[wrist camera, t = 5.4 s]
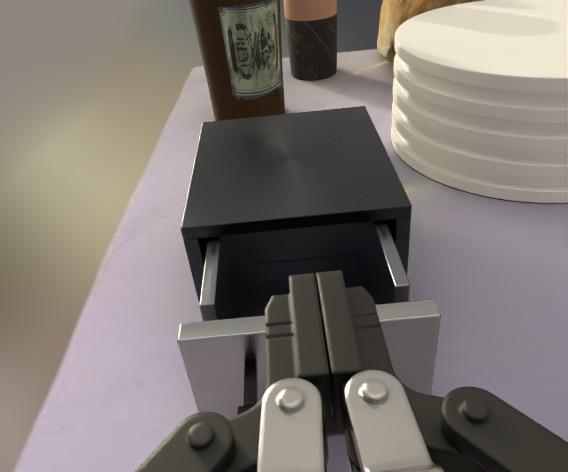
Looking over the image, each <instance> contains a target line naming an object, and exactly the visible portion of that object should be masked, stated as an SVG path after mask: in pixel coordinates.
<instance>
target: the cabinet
mask: <svg viewBox="0 0 568 472" xmlns="http://www.w3.org/2000/svg"><path fill="white" fill-rule="evenodd" d="M411 208H412V205H411V203H410V201H409V199H408V197H407V195H406V192H405V190H404V188H403V186H402V184H401V182H400V180H399V178H398V175H397V173H396V171H395V169H394V167H393V165H392V163H391V161H390V158H389V156H388V154H387V152H386V150H385V148H384V146H383V144H382V141H381V139H380V137H379V135H378V133H377V131H376V129H375V126H374V124H373V122H372V120H371V118H370V116H369V114H368V112H367V109H366V107H365V106H361V107H351V108H341V109H331V110H321V111H311V112H301V113H292V114H282V115H272V116H262V117H252V118H242V119H232V120H223V121H213V122H203V123H202V127H201V132H200V137H199V142H198V147H197V152H196V156H195V161H194V166H193V171H192V176H191V181H190V186H189V191H188V195H187V200H186V205H185V210H184V215H183V220H182V225H181V232H182V236H183V239H184V244H185V248H186V252H187V256H188V260H189V264H190V268H191V272H192V276H193V280H194V284H195V288H196V292H197V296H198V300H199V304H200V297H201V289H202V281H203V273H204V266H205V258H206V250H207V242H208V237H216V236H227V235H237V234H247V233H257V232H267V231H277V230H287V229H297V228H308V227H318V226H328V225H338V224H348V223H358V222H368V221H379V220H386V222H387V225H388V228H389V230H390V233H391V235H392V238H393V241H394V243H395V246H396V249H397V251H398V254H399V257H400V259H401V262H402V265H403V267H404V270H405V273H406V275H407V267H408V252H409V237H410V223H411V218H410V217H411Z"/></svg>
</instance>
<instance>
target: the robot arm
mask: <svg viewBox="0 0 568 472" xmlns="http://www.w3.org/2000/svg"><path fill="white" fill-rule="evenodd" d="M316 282H317V290H316V283H315V276H314V273H310V274H300V275H291V276H289V285H290V294H284V295H275V296H272V297H271V299H270V301H269V303H268V304H267V306H266V308H265V326H266V327H265V334H266V375H267V384H266V389H265V392H264V394H263V396H262V398H261V399H260V400H259V402H258V403H257V404H256V405H254V406H253V407H252V408H250V409H249V410H247V411H245V412H243V413H241V414H238V415H236V416H233V417H231V418H229V419H226V418H225V417H224V416H223V415H221V414H219V413H216V412H209V411H207V412H199V413H196V414H193V415H191V416H189V417H188V418H186V419H185V420H183V421H182V422H181V423H180V424H179V425H178V426H177V427H176V428H175V429H174V430H173V432H172V433H171V434H170V435H169V436H168V437H167V438H166V439H165V440H164V441H163V442H162V443H161V444H160V445H159V446H158V447H157V449H156V450H155V451H154V452H153V453H152V454H151V455H150V456H149V457H148V458H147V459H146V460H145V461H144V462H143V463H142V464H141V466H140V467H139V468H138V469H137V470H136V471H135V472H327V462H328V443H327V435H330V434H333V426H332V412H333V419H334V426H335V432H336V434H338V433H344V434H345V440H346V446H347V461H348V467H349V471H350V472H568V442H566V441H565V440H563V439H562V438H560V437H559V436H557V435H555V434H554V433H552V432H551V431H549V430H548V429H546V428H545V427H543V426H542V425H540V424H538V423H537V422H535V421H534V420H532V419H531V418H529V417H528V416H526V415H524V414H523V413H521V412H520V411H518V410H517V409H515V408H514V407H512V406H511V405H509V404H507V403H506V402H504V401H503V400H501V399H500V398H498V397H497V396H495V395H493V394H492V393H490V392H488V391H486V390H484V389H481V388H477V387H460V388H457V389H455V390H453V391H451V392H450V393H449V394H448V395H447V396H446V397H445V398H443V397H438V396H432V395H427V394H423V393H419V392H416V391H414V390H412V389H410V388H408V387H407V386H405V385H404V384H403V383H402V382H401V381H400V380H399V379H398V378H397V376H396V374H395V373H394V370H393V367H392V363H391V360H390V356H389V353H388V349H387V345H386V342H385V338H384V335H383V331H382V328H381V324H380V320H379V317H378V315H377V310H376V306H375V303H374V299H373V297H372V296H371V295H370V294H369V293H368V292H367V291H366V290H365V289H364V288H363V287H362V286H361V287H351V288H346V287H345V283H344V278H343V274H342V271H341V270H338V271H328V272H319V273H316ZM331 405H332V411H331Z"/></svg>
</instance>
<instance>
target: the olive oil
mask: <svg viewBox="0 0 568 472" xmlns="http://www.w3.org/2000/svg"><path fill="white" fill-rule="evenodd" d="M189 3H190V7H191V11H192V16H193V20H194V24H195V29H196V33H197V37H198V42H199V46H200V51H201V55H202V59H203V64H204V68H205V73H206V77H207V82H208V87H209V92H210V97H211V102H212V107H213V112H214V116H215V120H216V121H223V120H232V119H242V118H252V117H262V116H272V115H282V114H284V112H285V106H284V90H283V73H282V49H281V23H280V0H189Z"/></svg>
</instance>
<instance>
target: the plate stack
mask: <svg viewBox="0 0 568 472" xmlns="http://www.w3.org/2000/svg"><path fill="white" fill-rule="evenodd" d="M394 48H395V52H396V55H395V57H394V76H395V78H394V81H393V99H394V100H393V103H392V126H391V141H392V145H393V147H394V149H395V151H396V152H397V154H398V155H399V156H400V157H401V158H402V160H404V161H405V162H406V163H407V164H408V165H409V166H411V167H412V168H413V169H415V170H416V171H418V172H420V173H421V174H423V175H425V176H427V177H429V178H431V179H433V180H435V181H438V182H440V183H442V184H445V185H448V186H451V187H453V188H457V189H460V190H463V191H466V192H470V193H474V194H478V195H483V196H488V197H493V198H499V199H505V200H513V201H522V202H535V203H568V0H487V1H477V2H470V3H463V4H457V5H452V6H447V7H443V8H439V9H435V10H431V11H428V12H425V13H422V14H419V15H417V16H415V17H413V18H411V19H409V20H407V21H405V22H404V23H403V24H401V25H400V26H399V27H398V29H397V30H396V33H395V47H394Z"/></svg>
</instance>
